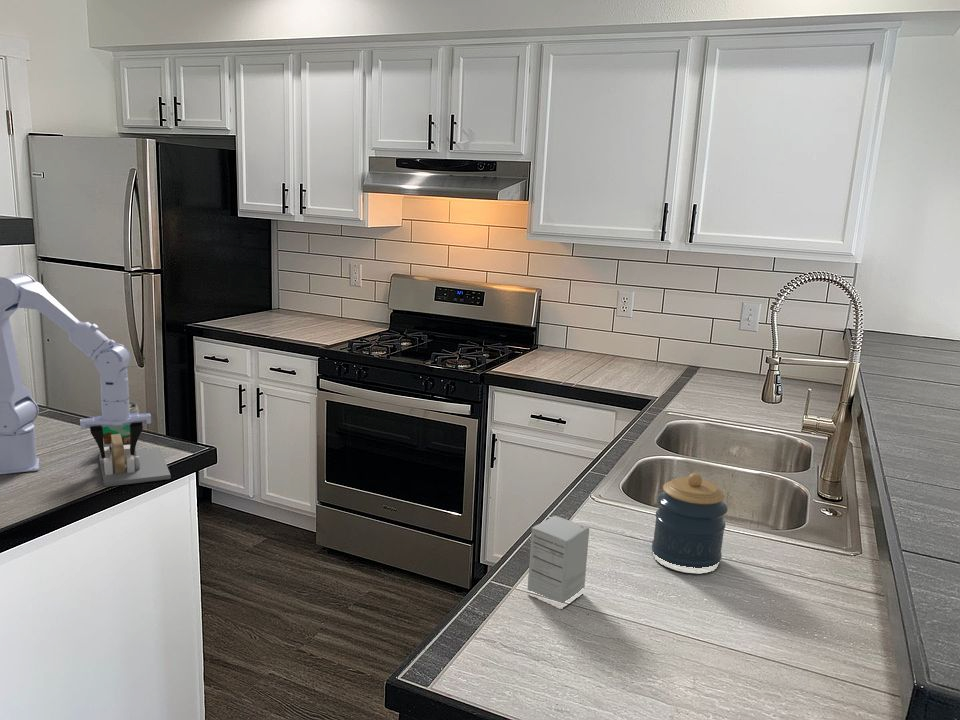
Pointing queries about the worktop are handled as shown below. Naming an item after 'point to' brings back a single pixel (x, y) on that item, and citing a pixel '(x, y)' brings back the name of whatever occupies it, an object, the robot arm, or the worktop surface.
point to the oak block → (117, 453)
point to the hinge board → (135, 467)
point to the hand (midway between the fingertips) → (117, 455)
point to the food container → (119, 429)
